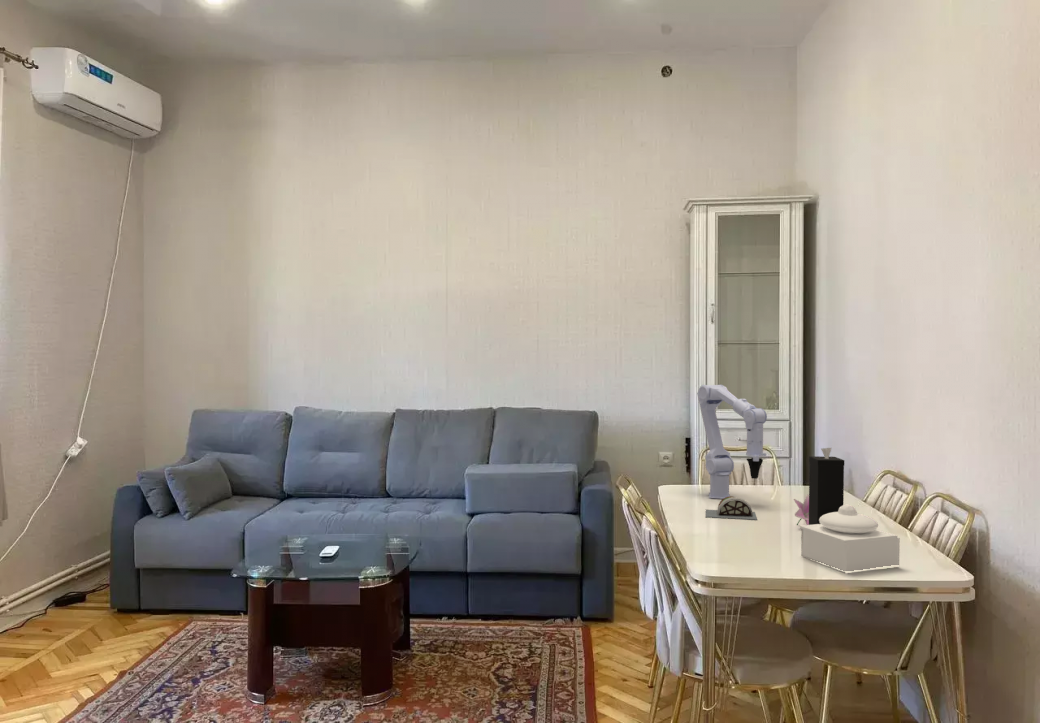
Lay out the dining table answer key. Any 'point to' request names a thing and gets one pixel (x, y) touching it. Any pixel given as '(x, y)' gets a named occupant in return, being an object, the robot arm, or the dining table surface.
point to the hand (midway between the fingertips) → (754, 478)
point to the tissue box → (825, 485)
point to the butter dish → (849, 541)
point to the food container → (734, 507)
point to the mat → (714, 515)
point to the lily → (803, 510)
